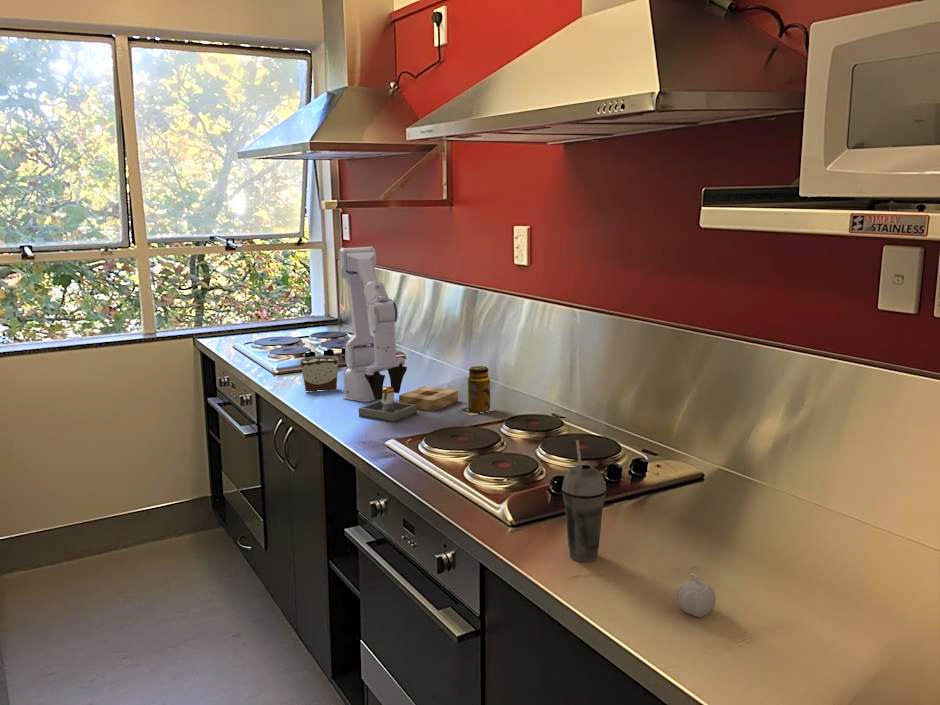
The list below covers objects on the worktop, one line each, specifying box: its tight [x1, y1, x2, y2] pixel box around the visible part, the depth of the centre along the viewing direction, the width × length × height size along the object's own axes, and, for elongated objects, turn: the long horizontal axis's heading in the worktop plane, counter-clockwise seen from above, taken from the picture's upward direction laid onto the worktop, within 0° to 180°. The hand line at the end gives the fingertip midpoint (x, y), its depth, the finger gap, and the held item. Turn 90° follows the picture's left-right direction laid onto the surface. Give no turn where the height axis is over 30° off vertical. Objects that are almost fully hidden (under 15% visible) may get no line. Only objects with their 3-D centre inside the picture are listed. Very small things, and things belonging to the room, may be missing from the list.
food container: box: [298, 355, 341, 392], centre depth 248 cm, size 12×6×10 cm, turn 108°
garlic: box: [675, 572, 717, 618], centre depth 114 cm, size 6×5×5 cm
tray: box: [358, 400, 418, 423], centre depth 218 cm, size 12×10×2 cm
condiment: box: [456, 365, 491, 417], centre depth 220 cm, size 7×8×12 cm
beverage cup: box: [561, 439, 608, 563], centre depth 130 cm, size 7×7×20 cm
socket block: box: [398, 385, 459, 412], centre depth 229 cm, size 12×12×3 cm
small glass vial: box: [381, 386, 395, 413], centre depth 218 cm, size 3×3×7 cm
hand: (387, 395), depth 218 cm, fingers open, 7 cm apart
